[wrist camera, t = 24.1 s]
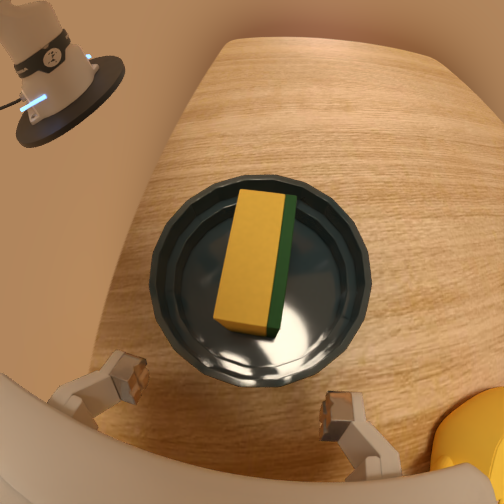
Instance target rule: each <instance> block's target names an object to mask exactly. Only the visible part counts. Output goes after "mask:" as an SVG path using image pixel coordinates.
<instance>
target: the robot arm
mask: <svg viewBox="0 0 504 504" xmlns="http://www.w3.org/2000/svg"><path fill="white" fill-rule="evenodd" d="M0 43H1V44H2V46H3V47H4V48H5V50H6V51H7V53H8V54H9V56H10V57H11V59H12V60H13V62H14V68H15V70H16V73H17V74H18V75H19V77H20V78H22V92H21V93H20V95H19V96H20V98H19V99H18V100H16V101H14V102H11V103H9V104H7V105H4V106H2V107H0V110H2V109H4V108H7V107H9V106H12V105H14V104H16V103H18V102H20V101H21V100H22V101H23V102H24V101H26V100H27V102H26V106H24V107H22V108H21V109H20V110H21V111H24V110H26V109H27V111H28V115H29V119H30V122H31V124H32V125H34V124H36V123H38V122H39V121H41V120H42V119H44V118H46V117H49V116H52V115H54V114H56V113H58V112H59V111H61V110H63V109H64V108H66V107H67V106H68V105H70V104H71V103H72V102H74V101H75V100H76V99H77V98H78V97H80V96H81V95H82V94H83V93H84V92H85V91H86V90H87V88H88V87H89V86H90V85H91V83H92V82H93V79H94V75H95V73H96V72H97V71H98V69H99V66H98V64H90V62H89V60H88V58H91V56H90V55H85V53H84V51H83V50H82V48H81V46H80V45H77V44H71V43H70V39H69V35H68V33H67V32H66V31H65V29H62V27H61V25H60V23H59V21H58V18H57V16H56V14H55V12H54V9H53V7H52V5H51V4H50V3H48V2H46V1H37V2H32V3H28V4H24V5H21V6H14V5H12V4H11V0H0ZM146 365H147V362H146V359H144V358H141V357H138V356H135V355H132V354H129V353H126V352H123V351H120V350H115V351H114V352H113V353H112V355H111V356H110V357H109V359H108V360H107V361H106V363H105V364H104V365H103V367H102V368H101V369H100V371H94V372H92V373H90V374H87V375H85V376H83V377H81V378H78V379H76V380H73V381H71V382H68V383H66V384H64V385H61V386H59V387H58V389H57V390H56V391H55V393H54V394H53V395H52V397H51V398H50V399H49V400H48V402H47V403H46V402H44V401H43V400H41V399H39V398H38V397H36V396H34V395H33V394H32V393H30V392H29V391H27V390H26V389H24V388H23V387H22V386H20V385H19V384H17V383H16V382H15V381H13V380H12V379H11V378H9V377H8V376H7V375H5V374H3V373H0V504H497V501H496V497H495V493H494V489H493V487H492V484H491V482H490V480H489V478H488V477H487V476H486V475H485V474H484V473H482V472H481V471H480V470H479V469H477V468H476V467H475V466H473V465H471V464H470V463H461V464H458V465H454V466H451V467H447V468H443V469H439V470H434V471H430V472H425V473H420V474H414V475H409V476H402V470H401V463H400V457H399V453H398V452H397V451H396V450H395V449H394V448H393V446H392V445H391V444H390V443H389V442H388V441H387V440H386V439H385V438H384V437H383V436H382V435H381V433H380V432H379V431H378V430H377V429H376V428H375V427H374V426H373V425H372V424H371V423H370V421H366V415H365V408H364V401H363V395H362V393H361V392H345V391H328V392H327V393H326V396H325V397H326V400H325V401H323V402H322V405H321V408H320V415H319V421H320V422H321V423H322V425H321V426H320V428H319V441H333V442H337V443H338V444H339V446H340V447H341V449H342V450H343V452H344V453H345V455H346V456H347V458H348V459H349V461H350V463H351V464H352V466H353V467H354V469H355V470H354V471H353V472H352V473H351V474H350V475H349V476H348V477H347V478H346V479H345V482H301V481H286V480H275V479H265V478H257V477H250V476H244V475H238V474H232V473H226V472H221V471H217V470H212V469H207V468H203V467H199V466H195V465H191V464H187V463H184V462H180V461H177V460H173V459H170V458H167V457H163V456H160V455H157V454H154V453H151V452H149V451H146V450H143V449H140V448H137V447H135V446H132V445H130V444H127V443H125V442H122V441H120V440H117V439H115V438H113V437H110V436H108V435H106V434H104V433H102V432H99V431H97V430H98V425H97V424H96V422H95V421H94V419H93V418H94V417H96V416H97V415H99V414H101V413H102V412H104V411H106V410H107V409H109V408H110V407H112V406H114V405H115V404H117V403H118V402H120V401H121V400H122V401H125V402H128V403H131V404H134V405H137V403H138V401H139V399H140V398H141V396H142V394H141V390H143V389H145V388H146V387H147V385H148V382H149V370H148V369H147V368H146Z"/></svg>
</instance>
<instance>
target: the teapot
mask: <svg viewBox="0 0 504 504" xmlns="http://www.w3.org/2000/svg"><path fill="white" fill-rule="evenodd" d="M461 463H470V464H471V465H473V466H475V467H476V468H477V469H479V470H480V471H481V472H482V473H484V474H485V475H486V476H487V477H488V478H489V480H490V482H491V484H492V487H493V489H494V493H495V497H496V501H498V500H499V502H498V504H504V387H496V388H492V389H489V390H486V391H484V392H481V393H479V394H477V395H476V396H474V397H472V398H471V399H469V400H468V401H466V402H465V403H463V404H462V405H461V406H459V407H458V408H457V409H455V410H454V411H453V412H451V413H450V414H449V415H448V416H447V417H446V418H445V419H444V420H443V421H442V422H441V424H440V425H439V426H438V428H437V430H436V433H435V436H434V441H433V446H432V453H431V461H430V471H434V470H439V469H443V468H447V467H451V466H454V465H458V464H461Z"/></svg>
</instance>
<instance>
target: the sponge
mask: <svg viewBox="0 0 504 504" xmlns="http://www.w3.org/2000/svg"><path fill="white" fill-rule="evenodd" d="M296 203H297V196H295V195H288V194H286V196H285V194H279V193H271V192H263V191H254V190H245V189H240V191H239V195H238V200H237V204H236V209H235V213H234V218H233V222H232V227H231V232H230V236H229V241H228V246H227V251H226V255H225V260H224V265H223V270H222V275H221V280H220V285H219V290H218V295H217V300H216V305H215V310H214V315H213V318H214V319H215V320H216V321H218V322H219V323H220V324H221V325H223V326H224V327H225V328H227V329H228V330H229V331H232V332H238V333H244V334H250V335H257V336H263V337H270V338H276V336H277V334H278V332H279V330H280V328H281V321H282V314H283V307H284V300H285V293H286V286H287V278H288V271H289V263H290V255H291V247H292V238H293V230H294V221H295V212H296Z"/></svg>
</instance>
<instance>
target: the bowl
mask: <svg viewBox="0 0 504 504" xmlns="http://www.w3.org/2000/svg"><path fill="white" fill-rule="evenodd" d="M240 189H245V190H254V191H263V192H271V193H279V194H285V196H286V194H288V195H295V196H297V203H296V212H295V221H294V230H293V238H292V247H291V255H290V263H289V271H288V278H287V286H286V293H285V300H284V307H283V314H282V321H281V328H280V330H279V332H278V334H277V336H276V338H270V337H263V336H257V335H250V334H244V333H238V332H232V331H229V330H228V329H227V328H225V327H224V326H223V325H221V324H220V323H219V322H218V321H216V320H215V319H214V318H213V315H214V310H215V305H216V300H217V295H218V290H219V285H220V280H221V275H222V270H223V265H224V260H225V255H226V251H227V246H228V241H229V236H230V232H231V227H232V222H233V218H234V213H235V209H236V204H237V200H238V195H239V191H240ZM371 287H372V279H371V271H370V263H369V255H368V251H367V248H366V246H365V244H364V242H363V240H362V238H361V235H360V233H359V231H358V229H357V227H356V225H355V223H354V222H353V220H352V219H351V218H350V217H349V216H348V215H347V214H346V213H345V211H344V210H343V209H342V208H341V207H340V206H339V205H338V204H337V203H336V202H335V201H334V200H333V199H332V198H331V197H329V196H327V195H326V194H324V193H322V192H321V191H319V190H317V189H316V188H314V187H312V186H310V185H309V184H307V183H305V182H302V181H298V180H294V179H291V178H287V177H283V176H279V175H242V176H239V177H235V178H232V179H228V180H225V181H222V182H218V183H215V184H213V185H211V186H209V187H208V188H206V189H205V190H203V191H201V192H200V193H198V194H197V195H195V196H193V197H192V198H190V199H189V200H187V201H186V202H185V203H184V204H183V205H182V207H181V208H180V209H179V210H178V211H177V212H176V213H175V214H174V216H173V217H172V218H171V219H170V220H169V221H168V222H167V223H166V225H165V227H164V230H163V232H162V234H161V236H160V238H159V240H158V242H157V245H156V247H155V249H154V251H153V254H152V262H151V270H150V279H149V290H150V295H151V300H152V305H153V309H154V314H155V318H156V321H157V323H158V324H159V326H160V328H161V329H162V331H163V333H164V334H165V336H166V338H167V339H168V341H169V343H170V344H171V346H172V347H173V349H174V350H175V351H176V352H177V353H178V354H179V355H181V356H182V357H183V358H184V359H185V360H187V361H188V362H189V363H190V364H191V365H193V366H194V367H195V368H196V369H198V370H199V371H200V372H201V373H204V374H205V375H207V376H210V377H213V378H216V379H218V380H221V381H224V382H227V383H230V384H232V385H235V386H238V387H239V386H240V387H281V386H284V385H287V384H290V383H293V382H296V381H298V380H301V379H304V378H307V377H309V376H312V375H315V374H317V373H318V372H319V371H321V370H322V369H323V368H324V367H326V366H327V365H328V364H329V363H331V362H332V361H333V360H334V359H336V358H337V357H338V356H339V355H340V354H342V353H343V352H344V351H345V350H346V349H347V347H348V346H349V344H350V342H351V341H352V339H353V338H354V336H355V334H356V333H357V331H358V329H359V328H360V326H361V324H362V323H363V321H364V318H365V315H366V311H367V306H368V302H369V297H370V292H371Z"/></svg>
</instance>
